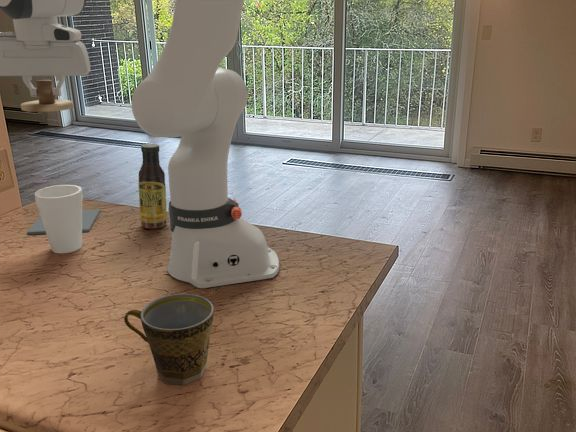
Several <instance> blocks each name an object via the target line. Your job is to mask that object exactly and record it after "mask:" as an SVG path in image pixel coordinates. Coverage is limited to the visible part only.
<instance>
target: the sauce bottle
mask: <svg viewBox="0 0 576 432" xmlns="http://www.w3.org/2000/svg"><path fill="white" fill-rule="evenodd" d="M140 148H141V149H140V151H141V153H142V164H141V167H140V169H139V172H138V199H139V200H138V201H139V217H140V218H139V220H140V224H141V227H143V228H144V229H149V230H153V229H154V230H155V229H161V228H163V227H165V226H166V224H167V219H168V217H167V216H168V215H167V213H168V212H167V191H166V190H167V189H166V174H165V171H164V169H163V168H162V167H161V165H160V164H161V163H160V156H159V155H160V145H159V144H157V143H144V144H141V147H140Z"/></svg>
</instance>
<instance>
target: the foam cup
mask: <svg viewBox="0 0 576 432" xmlns="http://www.w3.org/2000/svg"><path fill="white" fill-rule="evenodd" d="M34 200H35V204H36V207H37V208H38V212H39V216H40V215H41V218H42V222H43V225H44V228H45V231H46V237H47V241H48V243H49V246H50V248H51V252H53V253H55V254H68V253H72V252H76V251H79V250H80V249H81V248H82V247H83V232H82V210H83V201H84V196H83V189H82V187H81V186H79V185H75V184H56V185H55V184H54V185H50V186H45V187H42V188H40V189H38V190H36V191H35V192H34Z"/></svg>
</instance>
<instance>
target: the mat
mask: <svg viewBox="0 0 576 432" xmlns="http://www.w3.org/2000/svg"><path fill="white" fill-rule="evenodd" d="M100 214H101V209H99V208H97V209H96V208H95V209H93V208H92V209H82V233H84V232H90V231H91V229H92V227H93V226H94V224H95V222H96V221H97V218H98V217H99V215H100ZM41 234H43V235H45V234H46V231H45V228H44V225H43V222H42V218H41V215H40V214H39V217H38V218H37V219H36V220H35V221H34V223H33V224H32V225H31V226H30V228H29V229H28V230H27V231H26V235H41ZM46 235H47V234H46Z"/></svg>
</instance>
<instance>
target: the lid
mask: <svg viewBox="0 0 576 432" xmlns="http://www.w3.org/2000/svg"><path fill="white" fill-rule="evenodd" d="M53 83H54V82H53V80H51V79H40V80H38V79H37V80H36V81H35V84H36V85H35V86H36V88H37V92H38V99H37V100H32V101H31V100H30V101H25V102H22V103H20V109H21V111H23V112H29V113H30V112H31V113H50V112H59V111H61V112H62V111H67V110H70V109H72V108H74V107H75V106H74V102H73V100H69V99H56V96H53V92H52V88H54V84H53Z"/></svg>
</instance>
